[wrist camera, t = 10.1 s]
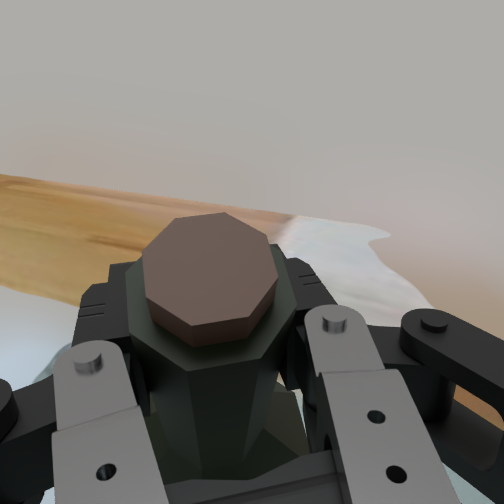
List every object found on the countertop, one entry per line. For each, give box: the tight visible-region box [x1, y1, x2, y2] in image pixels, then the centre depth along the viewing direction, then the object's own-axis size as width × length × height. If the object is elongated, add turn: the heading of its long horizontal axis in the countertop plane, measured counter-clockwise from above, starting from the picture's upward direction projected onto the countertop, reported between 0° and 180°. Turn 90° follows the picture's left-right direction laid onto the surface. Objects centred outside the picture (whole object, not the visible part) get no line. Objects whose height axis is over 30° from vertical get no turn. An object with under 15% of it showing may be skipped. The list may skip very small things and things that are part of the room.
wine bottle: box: [125, 212, 310, 485], centre depth 20 cm, size 8×8×30 cm
